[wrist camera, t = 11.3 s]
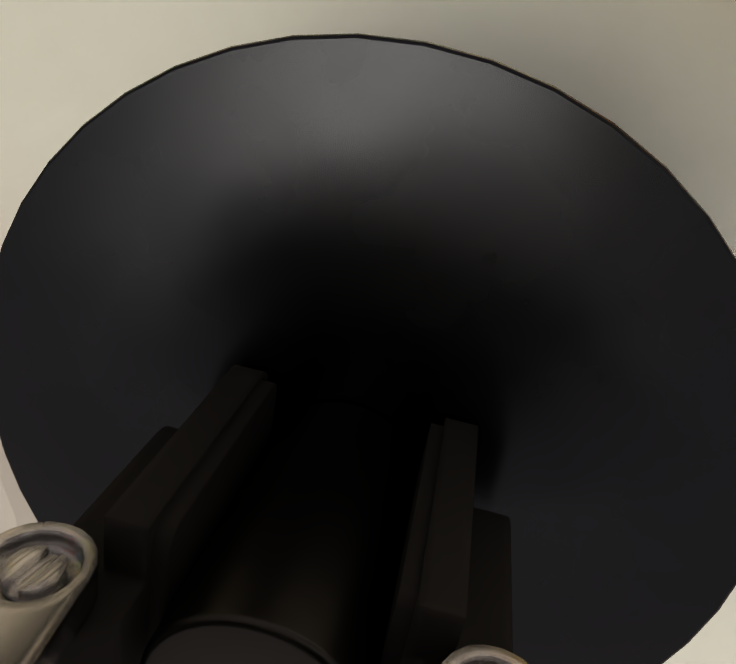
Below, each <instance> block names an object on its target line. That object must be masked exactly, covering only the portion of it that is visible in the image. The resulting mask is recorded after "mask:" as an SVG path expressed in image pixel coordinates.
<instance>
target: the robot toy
mask: <svg viewBox="0 0 736 664" xmlns="http://www.w3.org/2000/svg"><path fill="white" fill-rule="evenodd" d="M36 522H37V520H36V518H35V516H34V514H33V513H32V511H31V509H30V507H29V505H28V504H27V502H26V500H25V498H24V496H23V495H22V493H21V491H20V489H19V486H18V484H17V482H16V479H15V477H14V474H13V472H12V470H11V467H10V465H9V463H8V460H7V458H6V455H5V453H4V450H3V446H2V443H1V439H0V534H1V533H3V532H4V531H6V530H8V529H11V528H14V527H18V526H21V525H25V524H28V523H36Z"/></svg>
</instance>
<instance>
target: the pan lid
mask: <svg viewBox="0 0 736 664" xmlns="http://www.w3.org/2000/svg"><path fill="white" fill-rule="evenodd" d="M233 365H239V366H243V367H247V368H251V369H255V370H259V371H263V372H266V373H267V375H268V382H272V383H276V385H277V392H276V400H275V408H274V415H273V423H272V430H271V438H270V440H269V442H268V443H267V445H266V447H265V448H264V450H263V452H262V453H261V455H260V457H259V458H258V460H257V462H256V463H255V465H254V467H253V468H252V470H251V472H250V473H249V475H248V477H247V478H246V480H245V482H244V483H243V485H242V487H241V489H240V490H239V492H238V494H237V495H236V497H235V499H234V500H233V502H232V504H231V505H230V507H229V509H228V510H227V512H226V514H225V515H224V517H223V519H222V520H221V522H220V524H219V525H218V527H217V529H216V530H215V532H214V534H213V535H212V537H211V539H210V540H209V542H208V544H207V545H206V547H205V549H204V550H203V552H202V554H201V555H200V557H199V559H198V560H197V562H196V564H195V565H194V567H193V569H192V570H191V572H190V574H189V575H188V577H187V579H186V580H185V582H184V584H183V585H182V587H181V589H180V590H179V592H178V594H177V595H176V597H175V599H174V600H173V602H172V604H171V605H170V607H169V609H168V610H167V612H166V614H165V615H164V617H163V619H162V621H161V622H160V624H159V626H158V627H157V629H156V631H155V632H154V634H153V636H152V637H151V639H150V641H149V642H148V644H147V646H146V647H145V649H144V652H143V655H142V658H141V664H380V661H381V656H382V651H383V646H384V641H385V636H386V631H387V626H388V621H389V616H390V611H391V606H392V601H393V596H394V591H395V586H396V581H397V576H398V571H399V566H400V561H401V556H402V551H403V546H404V541H405V536H406V531H407V526H408V521H409V516H410V511H411V506H412V501H413V496H414V491H415V486H416V481H417V476H418V472H419V468H420V464H421V460H422V457H423V453H424V449H425V445H426V441H427V437H428V433H429V429H430V426H431V423H433V424H437V425H441V426H443V425H444V422H445V419H446V418H449V419H453V420H457V421H461V422H465V423H469V424H473V425H477V426H478V442H477V457H476V473H475V488H474V504H473V507H475V508H479V509H483V510H487V511H490V512H494V513H498V514H502V515H505V516H509V518H510V523H511V567H512V625H513V654H515V655H517V656H519V657H521V658H522V659H524V660H525V661H526V662H527V663H529V664H663V663H664V662H665V661H667V660H668V659H669V658H670V657H671V656H673V655H674V654H675V653H676V652H678V651H679V650H680V649H681V648H683V647H684V646H685V645H686V644H688V643H689V642H690V641H691V639H692V638H693V637H694V636H695V635H696V634H697V633H698V632H699V631H700V630H701V629H702V628H703V627H704V626H705V624H706V623H707V622H708V621H709V620H710V619H711V618H712V617H713V616H714V615H715V614H716V613H717V612H718V610H719V609H720V608H721V606H722V605H723V603H724V602H725V600H726V599H727V597H728V596H729V594H730V593H731V592H732V590H733V589H734V587H735V586H736V257H735V256H734V254H733V253H732V251H731V249H730V248H729V246H728V245H727V243H726V242H725V240H724V238H723V237H722V235H721V234H720V232H719V230H718V229H717V227H716V226H715V224H714V223H713V221H712V219H711V218H710V216H709V215H708V214H707V213H706V212H705V211H704V209H703V208H702V207H701V206H700V205H699V204H698V203H697V201H696V200H695V199H694V198H693V197H692V196H691V195H690V193H689V192H688V191H687V190H686V189H685V188H684V187H683V185H682V184H681V183H680V182H679V181H678V180H677V179H676V177H675V176H674V175H673V174H672V173H671V172H670V171H669V169H668V168H667V167H666V166H665V165H663V164H662V163H661V162H660V161H659V160H657V159H656V158H655V157H654V156H653V155H651V154H650V153H649V152H648V151H647V150H646V149H644V148H643V147H642V146H641V145H640V144H638V143H637V142H636V141H635V140H634V139H633V138H631V137H630V136H629V135H628V134H627V133H625V132H624V131H623V130H622V129H621V128H619V127H618V126H617V125H616V124H615V123H613V122H612V121H610V120H608V119H607V118H605V117H603V116H602V115H600V114H599V113H597V112H595V111H594V110H592V109H590V108H589V107H587V106H586V105H584V104H582V103H581V102H579V101H578V100H576V99H574V98H573V97H571V96H569V95H568V94H566V93H565V92H563V91H561V90H560V89H558V88H556V87H555V86H553V85H551V84H548V83H546V82H544V81H541V80H539V79H537V78H534V77H532V76H530V75H528V74H525V73H523V72H521V71H518V70H516V69H514V68H511V67H509V66H507V65H504V64H502V63H500V62H498V61H495V60H493V59H489V58H486V57H482V56H478V55H475V54H471V53H467V52H464V51H460V50H456V49H452V48H449V47H445V46H441V45H438V44H434V43H430V42H425V41H416V40H408V39H400V38H391V37H383V36H375V35H366V34H323V35H292V36H286V37H281V38H275V39H270V40H264V41H259V42H253V43H247V44H242V45H236V46H231V47H228V48H225V49H222V50H219V51H217V52H214V53H211V54H208V55H205V56H202V57H199V58H196V59H193V60H190V61H188V62H185V63H182V64H179V65H176V66H174V67H172V68H170V69H168V70H166V71H164V72H163V73H161V74H159V75H157V76H155V77H153V78H151V79H150V80H148V81H146V82H144V83H142V84H140V85H138V86H136V87H135V88H133V89H131V90H129V91H127V92H125V93H124V94H123V95H121V96H120V97H119V98H117V99H116V100H115V101H114V102H112V103H111V104H110V105H108V106H107V107H106V108H104V109H103V110H102V111H101V112H99V113H98V114H97V115H95V116H94V117H93V118H91V119H90V120H89V121H87V122H86V123H85V124H84V125H83V126H82V127H81V128H80V129H79V130H78V131H77V132H76V133H75V134H74V135H73V136H72V137H71V138H70V139H69V141H68V142H67V143H66V144H65V145H64V146H63V147H62V148H61V149H60V150H59V151H58V152H57V153H56V154H55V155H54V157H53V158H52V159H51V160H50V161H49V162H48V164H47V165H46V167H45V168H44V170H43V171H42V173H41V174H40V176H39V177H38V179H37V180H36V182H35V183H34V185H33V186H32V188H31V189H30V191H29V192H28V194H27V195H26V197H25V198H24V200H23V201H22V203H21V205H20V207H19V209H18V211H17V214H16V216H15V218H14V220H13V222H12V225H11V227H10V229H9V231H8V233H7V236H6V238H5V240H4V242H3V244H2V248H1V252H0V439H1V443H2V446H3V450H4V453H5V455H6V458H7V460H8V463H9V465H10V467H11V470H12V472H13V474H14V477H15V479H16V482H17V484H18V486H19V489H20V491H21V493H22V495H23V496H24V498H25V500H26V502H27V504H28V505H29V507H30V509H31V511H32V513H33V514H34V516H35V518H36V520H37V522H46V521H50V522H60V523H67V524H70V525H73V524H74V523H75V522H76V521H77V520H78V519H79V518H80V517H81V516H82V514H83V513H84V512H85V511H86V510H87V509H88V508H89V507H90V506H91V505H92V503H93V502H94V501H95V500H96V499H97V498H98V497H99V496H100V495H101V494H102V492H103V491H104V490H105V489H106V488H107V487H108V486H109V485H110V484H111V482H112V481H113V480H114V479H115V478H116V477H117V476H118V475H119V474H120V473H121V471H122V470H123V469H124V468H125V467H126V466H127V465H128V464H129V463H130V462H131V460H132V459H133V458H134V457H135V456H136V455H137V454H138V453H139V452H140V451H141V449H142V448H143V447H144V446H145V445H146V444H147V443H148V442H149V441H150V439H151V438H152V437H153V436H154V435H155V434H156V433H157V432H158V431H159V430H160V429H161V428H163V427H165V426H171V427H174V428H178V429H179V428H180V427H181V425H182V424H183V423H184V422H185V421H186V420H187V418H188V417H189V416H190V415H191V414H192V413H193V411H194V410H195V409H196V408H197V407H198V406H199V404H200V403H201V402H202V401H203V400H204V399H205V397H206V396H207V395H208V394H209V393H210V392H211V390H212V389H213V388H214V387H215V386H216V385H217V383H218V382H219V381H220V380H221V379H222V378H223V376H224V375H225V374H226V373H227V372H228V371H229V369H230V368H231V367H232V366H233Z"/></svg>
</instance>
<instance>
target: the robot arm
mask: <svg viewBox="0 0 736 664" xmlns="http://www.w3.org/2000/svg"><path fill="white" fill-rule="evenodd" d="M276 392H277V385H276V383H272V382H268V375H267V373H266V372H263V371H259V370H255V369H251V368H247V367H243V366H239V365H233V366H232V367H231V368H230V369H229V371H228V372H227V373H226V374H225V375H224V376H223V378H222V379H221V380H220V381H219V382H218V383H217V385H216V386H215V387H214V388H213V389H212V390H211V392H210V393H209V394H208V395H207V396H206V397H205V399H204V400H203V401H202V402H201V403H200V404H199V406H198V407H197V408H196V409H195V410H194V411H193V413H192V414H191V415H190V416H189V417H188V418H187V420H186V421H185V422H184V423H183V424H182V425H181V427H180V428H179V429H178V428H174V427H171V426H165V427H163V428H161V429H160V430H159V431H158V432H157V433H156V434H155V435H154V436H153V437H152V438H151V439H150V441H149V442H148V443H147V444H146V445H145V446H144V447H143V448H142V449H141V451H140V452H139V453H138V454H137V455H136V456H135V457H134V458H133V459H132V460H131V462H130V463H129V464H128V465H127V466H126V467H125V468H124V469H123V470H122V471H121V473H120V474H119V475H118V476H117V477H116V478H115V479H114V480H113V481H112V482H111V484H110V485H109V486H108V487H107V488H106V489H105V490H104V491H103V492H102V494H101V495H100V496H99V497H98V498H97V499H96V500H95V501H94V502H93V503H92V505H91V506H90V507H89V508H88V509H87V510H86V511H85V512H84V513H83V514H82V516H81V517H80V518H79V519H78V520H77V521H76V522H75V523H74V524H73V525H70V524H67V523H60V522H50V521H46V522H36V523H28V524H25V525H21V526H18V527H14V528H11V529H8V530H6V531H4V532H3V533H1V534H0V664H141V658H142V655H143V652H144V649H145V647H146V646H147V644H148V642H149V641H150V639H151V637H152V636H153V634H154V632H155V631H156V629H157V627H158V626H159V624H160V622H161V621H162V619H163V617H164V615H165V614H166V612H167V610H168V609H169V607H170V605H171V604H172V602H173V600H174V599H175V597H176V595H177V594H178V592H179V590H180V589H181V587H182V585H183V584H184V582H185V580H186V579H187V577H188V575H189V574H190V572H191V570H192V569H193V567H194V565H195V564H196V562H197V560H198V559H199V557H200V555H201V554H202V552H203V550H204V549H205V547H206V545H207V544H208V542H209V540H210V539H211V537H212V535H213V534H214V532H215V530H216V529H217V527H218V525H219V524H220V522H221V520H222V519H223V517H224V515H225V514H226V512H227V510H228V509H229V507H230V505H231V504H232V502H233V500H234V499H235V497H236V495H237V494H238V492H239V490H240V489H241V487H242V485H243V483H244V482H245V480H246V478H247V477H248V475H249V473H250V472H251V470H252V468H253V467H254V465H255V463H256V462H257V460H258V458H259V457H260V455H261V453H262V452H263V450H264V448H265V447H266V445H267V443H268V442H269V440H270V438H271V430H272V423H273V415H274V408H275V400H276ZM477 442H478V426H477V425H473V424H469V423H465V422H461V421H457V420H453V419H449V418H446V419H445V422H444V425H443V426H441V425H437V424H433V423H431V426H430V429H429V433H428V437H427V441H426V445H425V449H424V453H423V457H422V460H421V464H420V468H419V472H418V476H417V481H416V486H415V491H414V496H413V501H412V506H411V511H410V516H409V521H408V526H407V531H406V536H405V541H404V546H403V551H402V556H401V561H400V566H399V571H398V576H397V581H396V586H395V591H394V596H393V601H392V606H391V611H390V616H389V621H388V626H387V631H386V636H385V641H384V646H383V651H382V656H381V661H380V664H529V663H527V662H526V661H525V660H524V659H522V658H521V657H519V656H517V655H515V654H513V625H512V567H511V523H510V518H509V516H505V515H502V514H498V513H494V512H490V511H487V510H483V509H479V508H475V507H473V504H474V488H475V473H476V457H477Z"/></svg>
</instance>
